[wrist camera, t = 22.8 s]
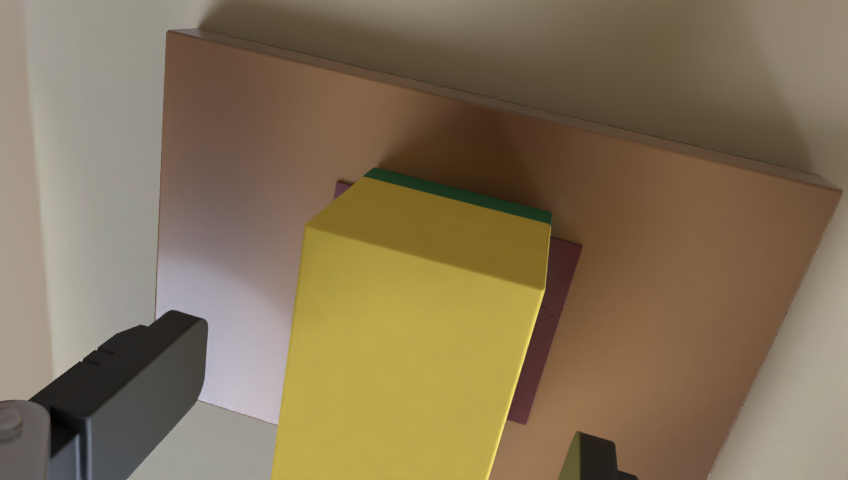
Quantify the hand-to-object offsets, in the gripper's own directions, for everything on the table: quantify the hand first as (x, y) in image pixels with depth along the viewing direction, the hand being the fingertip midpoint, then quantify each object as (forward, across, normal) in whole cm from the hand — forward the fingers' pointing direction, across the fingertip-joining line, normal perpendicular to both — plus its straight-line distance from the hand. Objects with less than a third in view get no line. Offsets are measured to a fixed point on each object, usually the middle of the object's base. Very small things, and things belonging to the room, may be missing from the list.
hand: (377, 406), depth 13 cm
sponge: (+6, 0, 0) cm, 6 cm away
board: (+7, 0, 0) cm, 7 cm away
